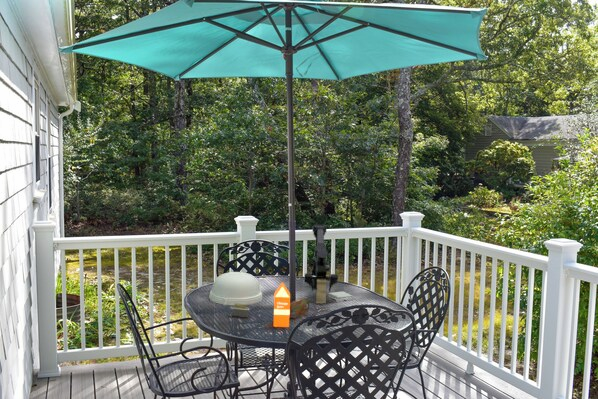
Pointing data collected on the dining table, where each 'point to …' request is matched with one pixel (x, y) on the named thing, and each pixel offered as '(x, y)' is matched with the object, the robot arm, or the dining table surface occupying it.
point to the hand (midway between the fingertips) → (321, 291)
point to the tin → (299, 308)
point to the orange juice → (281, 307)
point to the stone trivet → (339, 295)
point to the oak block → (321, 291)
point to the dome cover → (235, 289)
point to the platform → (240, 310)
